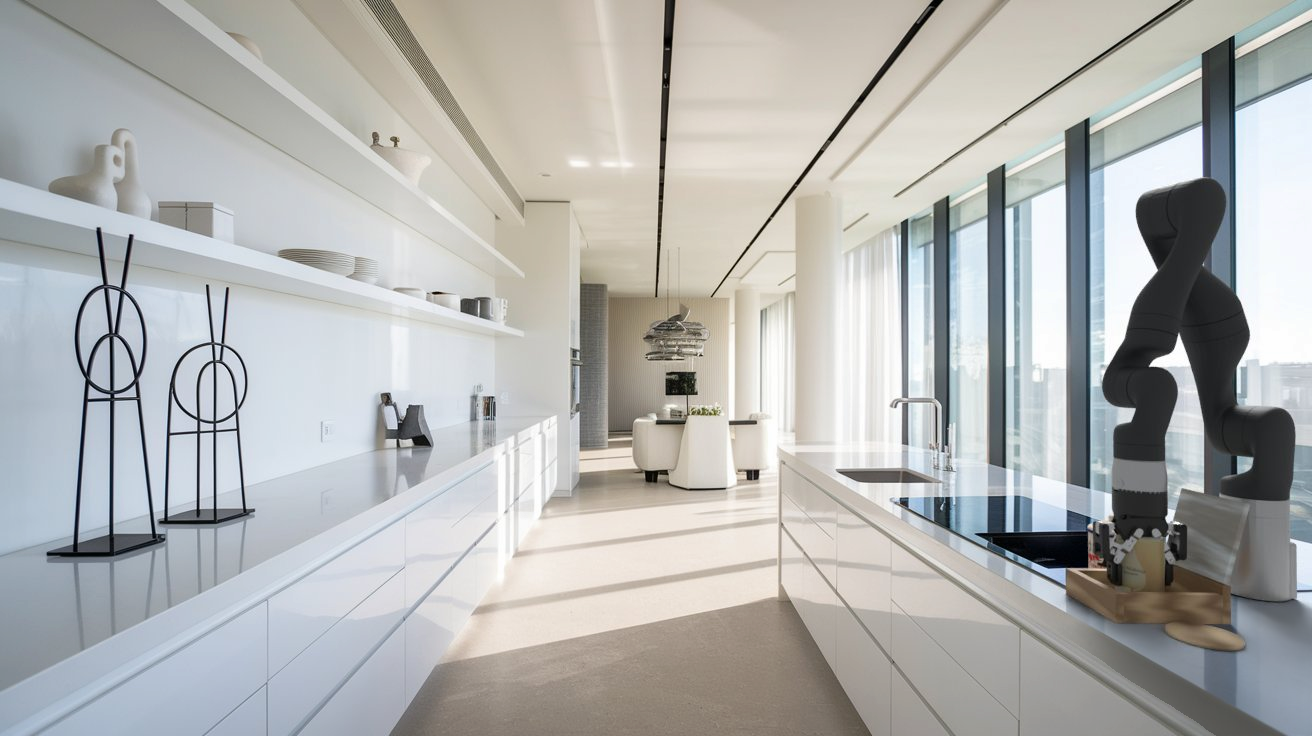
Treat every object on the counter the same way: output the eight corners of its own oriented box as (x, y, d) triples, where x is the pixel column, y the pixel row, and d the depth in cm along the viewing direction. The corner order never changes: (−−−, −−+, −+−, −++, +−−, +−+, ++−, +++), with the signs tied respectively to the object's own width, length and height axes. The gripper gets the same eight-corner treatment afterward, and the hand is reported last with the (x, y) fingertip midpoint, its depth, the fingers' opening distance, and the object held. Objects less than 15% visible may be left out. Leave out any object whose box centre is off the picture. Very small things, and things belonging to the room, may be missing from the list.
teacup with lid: (1077, 567, 130) (1077, 509, 130) (1126, 569, 129) (1125, 510, 129) (1112, 587, 118) (1111, 523, 119) (1166, 589, 117) (1165, 524, 117)
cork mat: (1210, 626, 101) (1210, 622, 101) (1262, 651, 92) (1261, 646, 92) (1150, 625, 101) (1150, 621, 101) (1195, 650, 92) (1195, 645, 92)
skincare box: (1113, 606, 109) (1113, 533, 109) (1120, 599, 112) (1119, 529, 112) (1161, 616, 104) (1160, 540, 104) (1166, 609, 107) (1166, 536, 107)
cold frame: (1182, 593, 115) (1181, 486, 115) (1252, 624, 101) (1251, 503, 101) (1063, 591, 116) (1062, 486, 116) (1115, 622, 102) (1114, 502, 102)
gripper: (1166, 482, 112) (1167, 578, 112) (1081, 481, 112) (1081, 577, 112) (1201, 490, 104) (1202, 593, 104) (1109, 489, 105) (1110, 591, 105)
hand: (1139, 584), depth 108 cm, fingers closed on skincare box, 7 cm apart
